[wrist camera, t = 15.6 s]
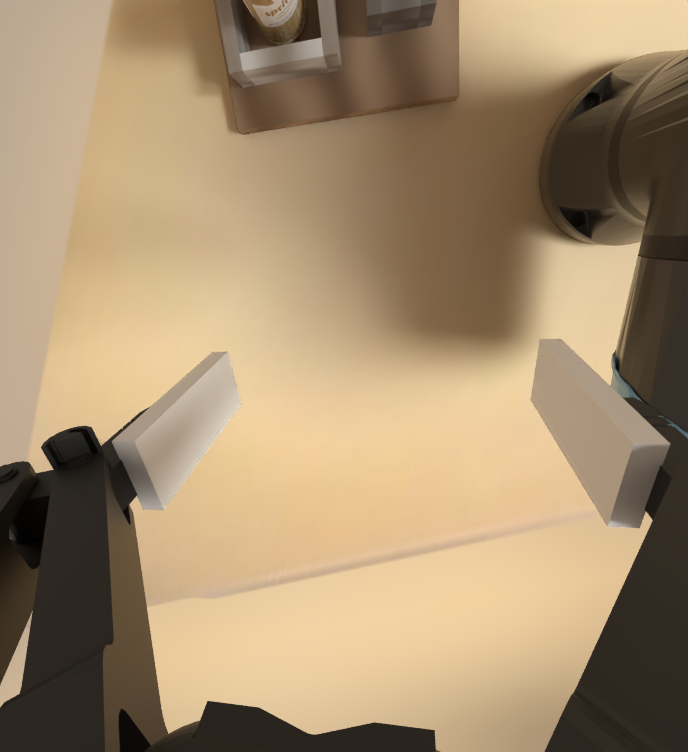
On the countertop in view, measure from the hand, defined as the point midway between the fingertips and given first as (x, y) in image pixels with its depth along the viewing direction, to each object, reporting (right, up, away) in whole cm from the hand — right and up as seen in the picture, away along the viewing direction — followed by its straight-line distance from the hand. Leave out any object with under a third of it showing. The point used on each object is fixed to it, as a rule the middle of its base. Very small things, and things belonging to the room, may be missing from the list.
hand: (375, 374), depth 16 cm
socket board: (-2, +33, +17) cm, 37 cm away
